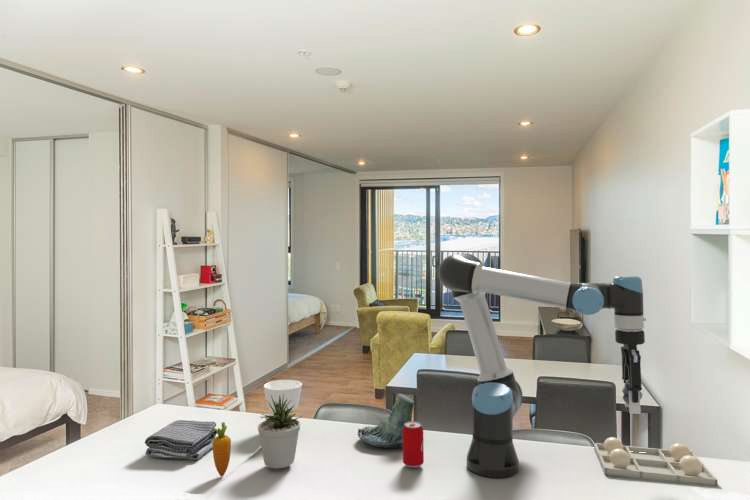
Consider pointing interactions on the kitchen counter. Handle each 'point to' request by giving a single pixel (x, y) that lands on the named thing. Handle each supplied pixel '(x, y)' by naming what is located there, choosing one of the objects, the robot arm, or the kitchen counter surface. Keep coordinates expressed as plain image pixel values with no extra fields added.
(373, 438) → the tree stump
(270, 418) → the potted plant
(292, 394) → the cup
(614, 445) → the egg far left
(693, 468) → the egg near right
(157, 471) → the kitchen counter surface
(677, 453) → the egg far right
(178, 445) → the towel
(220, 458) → the carrot
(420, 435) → the beverage can
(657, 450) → the egg tray
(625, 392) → the seashell
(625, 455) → the egg near left
